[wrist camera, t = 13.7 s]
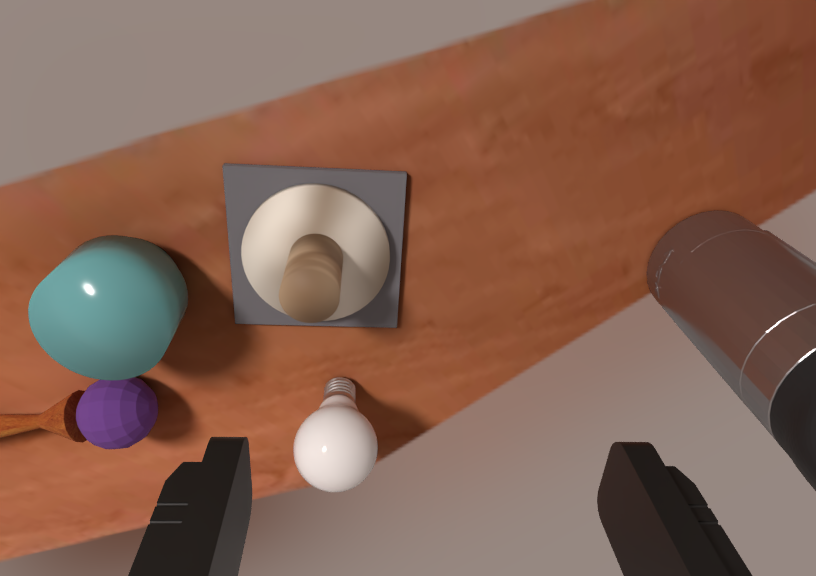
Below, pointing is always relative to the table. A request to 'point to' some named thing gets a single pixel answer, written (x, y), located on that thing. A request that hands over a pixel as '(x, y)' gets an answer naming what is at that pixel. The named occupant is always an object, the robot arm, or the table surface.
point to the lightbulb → (336, 441)
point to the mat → (372, 186)
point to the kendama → (95, 415)
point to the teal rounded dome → (109, 308)
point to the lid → (315, 252)
